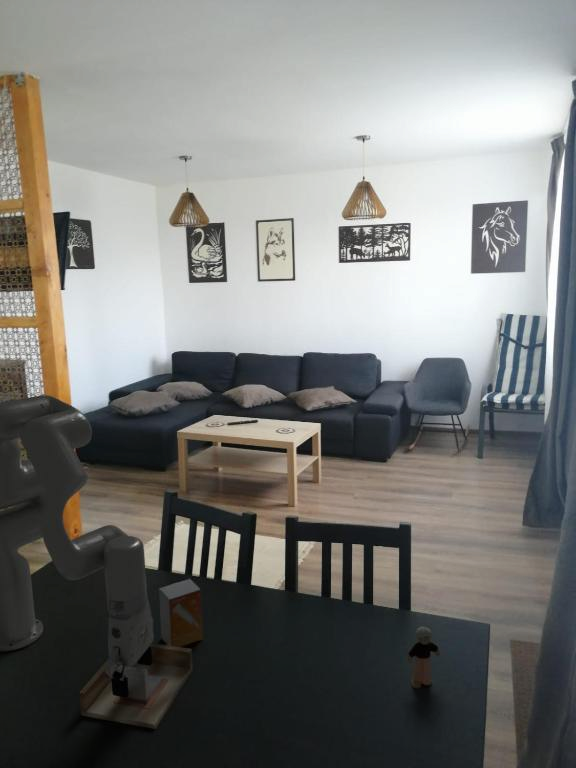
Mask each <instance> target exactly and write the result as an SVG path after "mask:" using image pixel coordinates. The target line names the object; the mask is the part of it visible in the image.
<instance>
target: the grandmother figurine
mask: <svg viewBox="0 0 576 768" xmlns="http://www.w3.org/2000/svg"><path fill="white" fill-rule="evenodd" d="M415 637H416V639H417V640H418V642H416V643H415V644H414V645H413V646H412V648H411V649H410V651H409V652H408V654H407V656H406V658H405V664H410V663H411V661H412V659H413V658H414V662H413V669H412V677H411V681H410V682H411V686H412V688H414V689H420V688H422V685H424V686H432V684H433V682H432V680H431V658H432V657H431V652H432V653H434V655H435V656H436V657H439V656H441V655H440V654H441V653H440V651H439V647H438V645H436V644H435V643H434V642H431V638H432V637H433V632H432V630H431V629H430V628H428V627H426V626H420V627H418V628H417V629H416V631H415Z"/></svg>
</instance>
